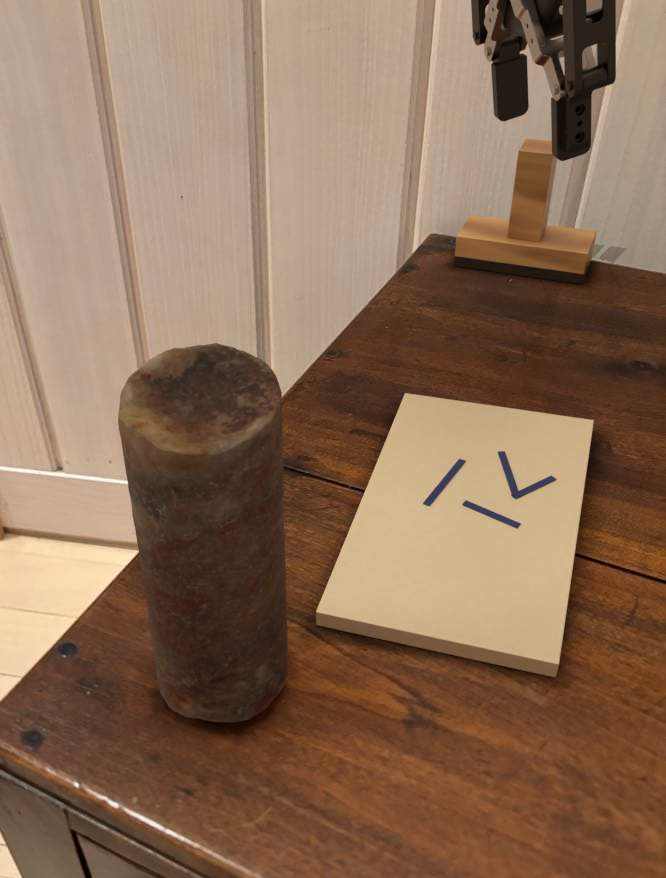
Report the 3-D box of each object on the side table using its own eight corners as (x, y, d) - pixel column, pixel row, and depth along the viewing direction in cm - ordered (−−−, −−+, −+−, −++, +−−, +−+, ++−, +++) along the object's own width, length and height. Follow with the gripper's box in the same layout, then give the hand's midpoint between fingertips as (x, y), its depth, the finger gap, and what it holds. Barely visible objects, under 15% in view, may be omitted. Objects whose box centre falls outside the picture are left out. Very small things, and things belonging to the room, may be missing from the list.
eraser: (467, 244, 92) (479, 129, 84) (591, 260, 88) (614, 142, 80) (453, 266, 89) (464, 149, 81) (581, 284, 85) (605, 163, 77)
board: (404, 405, 72) (405, 391, 71) (590, 433, 68) (594, 418, 67) (315, 625, 55) (315, 610, 55) (555, 678, 52) (559, 663, 51)
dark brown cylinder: (307, 647, 54) (299, 350, 41) (273, 749, 49) (251, 448, 36) (185, 624, 56) (139, 332, 43) (140, 720, 51) (71, 423, 37)
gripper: (673, -187, 44) (653, 151, 55) (537, -196, 54) (543, 88, 65) (524, -138, 44) (534, 191, 54) (417, -157, 54) (444, 121, 65)
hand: (539, 135), depth 60 cm, fingers open, 8 cm apart
